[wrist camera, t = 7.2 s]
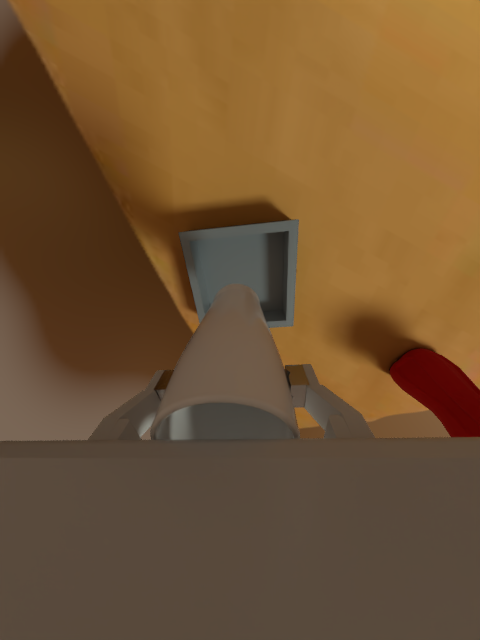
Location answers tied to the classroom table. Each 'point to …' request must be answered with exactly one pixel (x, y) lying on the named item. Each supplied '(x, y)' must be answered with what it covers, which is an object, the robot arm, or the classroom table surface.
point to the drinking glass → (228, 378)
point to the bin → (245, 265)
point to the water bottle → (440, 390)
